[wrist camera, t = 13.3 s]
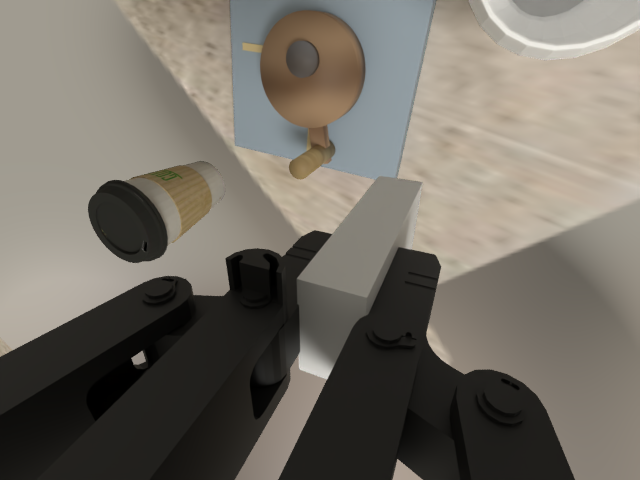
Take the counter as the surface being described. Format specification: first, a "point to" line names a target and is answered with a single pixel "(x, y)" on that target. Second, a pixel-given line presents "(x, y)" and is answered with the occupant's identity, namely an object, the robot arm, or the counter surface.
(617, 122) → the counter surface
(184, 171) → the coffee cup
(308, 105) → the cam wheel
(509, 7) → the cup
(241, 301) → the robot arm
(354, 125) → the blue board
